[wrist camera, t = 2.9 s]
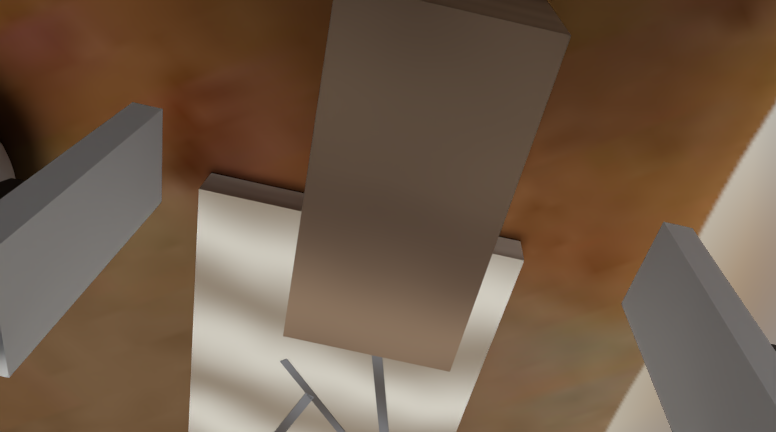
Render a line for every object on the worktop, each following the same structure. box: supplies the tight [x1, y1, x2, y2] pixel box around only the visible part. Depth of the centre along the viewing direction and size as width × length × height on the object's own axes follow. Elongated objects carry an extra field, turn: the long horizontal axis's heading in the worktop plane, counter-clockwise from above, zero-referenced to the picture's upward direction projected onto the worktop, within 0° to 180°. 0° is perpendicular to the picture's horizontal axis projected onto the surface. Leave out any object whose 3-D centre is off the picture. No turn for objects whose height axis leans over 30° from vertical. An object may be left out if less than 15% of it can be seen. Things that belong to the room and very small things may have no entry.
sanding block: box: [283, 0, 571, 372], centre depth 19 cm, size 10×5×10 cm, turn 168°
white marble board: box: [189, 173, 524, 432], centre depth 32 cm, size 24×14×2 cm, turn 168°
